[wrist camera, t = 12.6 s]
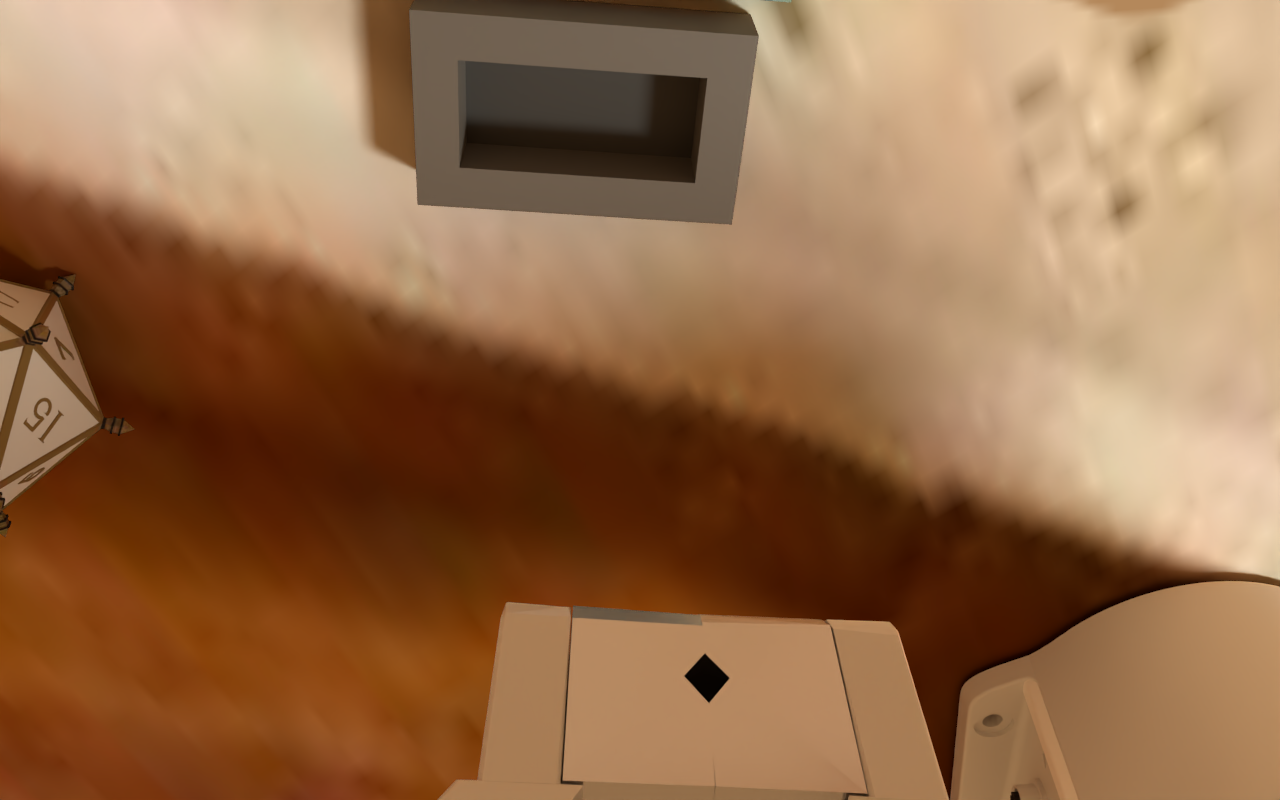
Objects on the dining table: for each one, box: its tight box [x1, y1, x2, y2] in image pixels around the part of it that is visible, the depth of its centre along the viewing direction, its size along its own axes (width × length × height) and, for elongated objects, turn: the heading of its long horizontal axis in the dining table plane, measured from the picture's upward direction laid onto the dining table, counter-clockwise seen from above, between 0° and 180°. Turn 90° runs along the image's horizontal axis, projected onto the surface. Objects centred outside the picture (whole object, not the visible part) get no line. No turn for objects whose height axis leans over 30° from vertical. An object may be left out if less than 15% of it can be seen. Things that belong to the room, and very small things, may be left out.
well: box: [409, 0, 759, 225], centre depth 30 cm, size 5×9×2 cm, turn 85°
